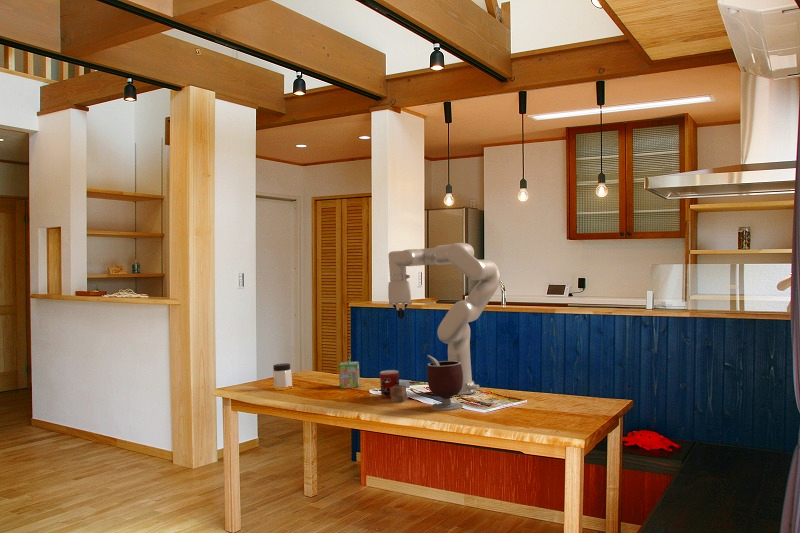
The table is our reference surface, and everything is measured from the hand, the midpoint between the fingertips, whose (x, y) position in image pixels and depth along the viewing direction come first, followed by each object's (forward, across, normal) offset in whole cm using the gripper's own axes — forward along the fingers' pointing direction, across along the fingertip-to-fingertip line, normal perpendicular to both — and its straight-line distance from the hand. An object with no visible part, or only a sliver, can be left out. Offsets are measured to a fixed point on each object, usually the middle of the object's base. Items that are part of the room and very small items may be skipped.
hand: (401, 318), depth 302 cm
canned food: (+33, +7, +13) cm, 36 cm away
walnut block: (+32, +4, +23) cm, 40 cm away
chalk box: (+32, +27, -19) cm, 46 cm away
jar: (+32, +60, -27) cm, 73 cm away
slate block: (+32, +3, +3) cm, 33 cm away
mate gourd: (+33, -14, +42) cm, 55 cm away
